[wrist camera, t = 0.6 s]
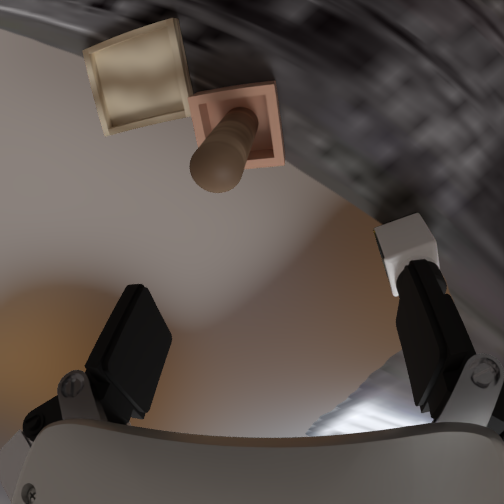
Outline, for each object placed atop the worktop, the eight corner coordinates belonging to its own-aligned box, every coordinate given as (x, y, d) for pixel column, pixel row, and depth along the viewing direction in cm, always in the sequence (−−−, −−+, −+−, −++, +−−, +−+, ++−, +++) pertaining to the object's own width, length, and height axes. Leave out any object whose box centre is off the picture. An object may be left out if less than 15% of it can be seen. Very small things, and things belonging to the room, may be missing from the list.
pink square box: (197, 91, 33) (187, 97, 30) (275, 80, 31) (274, 84, 28) (211, 161, 38) (204, 173, 35) (285, 153, 36) (284, 165, 33)
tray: (91, 49, 29) (82, 50, 28) (178, 18, 27) (172, 17, 26) (112, 132, 36) (104, 136, 35) (197, 112, 34) (192, 116, 33)
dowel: (220, 109, 33) (184, 147, 22) (255, 104, 32) (237, 140, 21) (226, 141, 35) (196, 195, 24) (260, 137, 35) (246, 190, 24)
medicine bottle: (372, 227, 41) (393, 287, 32) (418, 210, 39) (451, 266, 29) (383, 264, 45) (401, 325, 35) (426, 249, 42) (453, 307, 33)
